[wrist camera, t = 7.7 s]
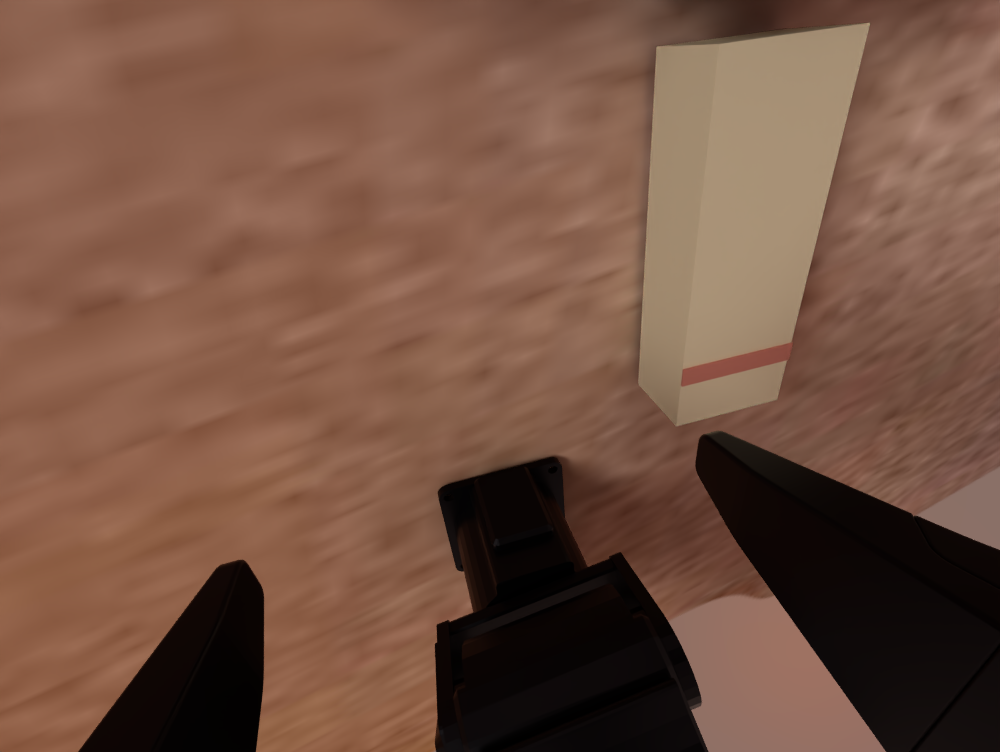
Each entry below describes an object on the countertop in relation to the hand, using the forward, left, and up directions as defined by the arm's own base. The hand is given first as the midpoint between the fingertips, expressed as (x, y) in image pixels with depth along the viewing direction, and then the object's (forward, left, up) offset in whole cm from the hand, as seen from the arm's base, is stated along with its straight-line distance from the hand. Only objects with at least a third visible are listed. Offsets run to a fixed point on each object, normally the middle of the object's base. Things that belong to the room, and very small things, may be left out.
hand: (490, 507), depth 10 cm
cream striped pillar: (0, -12, -12) cm, 17 cm away
